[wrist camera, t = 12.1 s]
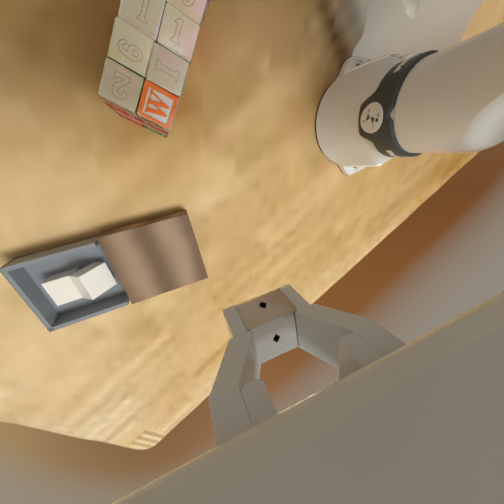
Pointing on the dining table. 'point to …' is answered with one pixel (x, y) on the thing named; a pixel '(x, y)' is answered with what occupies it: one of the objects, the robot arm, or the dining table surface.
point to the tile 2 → (93, 280)
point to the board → (154, 255)
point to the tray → (56, 261)
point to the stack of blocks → (151, 59)
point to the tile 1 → (62, 287)
